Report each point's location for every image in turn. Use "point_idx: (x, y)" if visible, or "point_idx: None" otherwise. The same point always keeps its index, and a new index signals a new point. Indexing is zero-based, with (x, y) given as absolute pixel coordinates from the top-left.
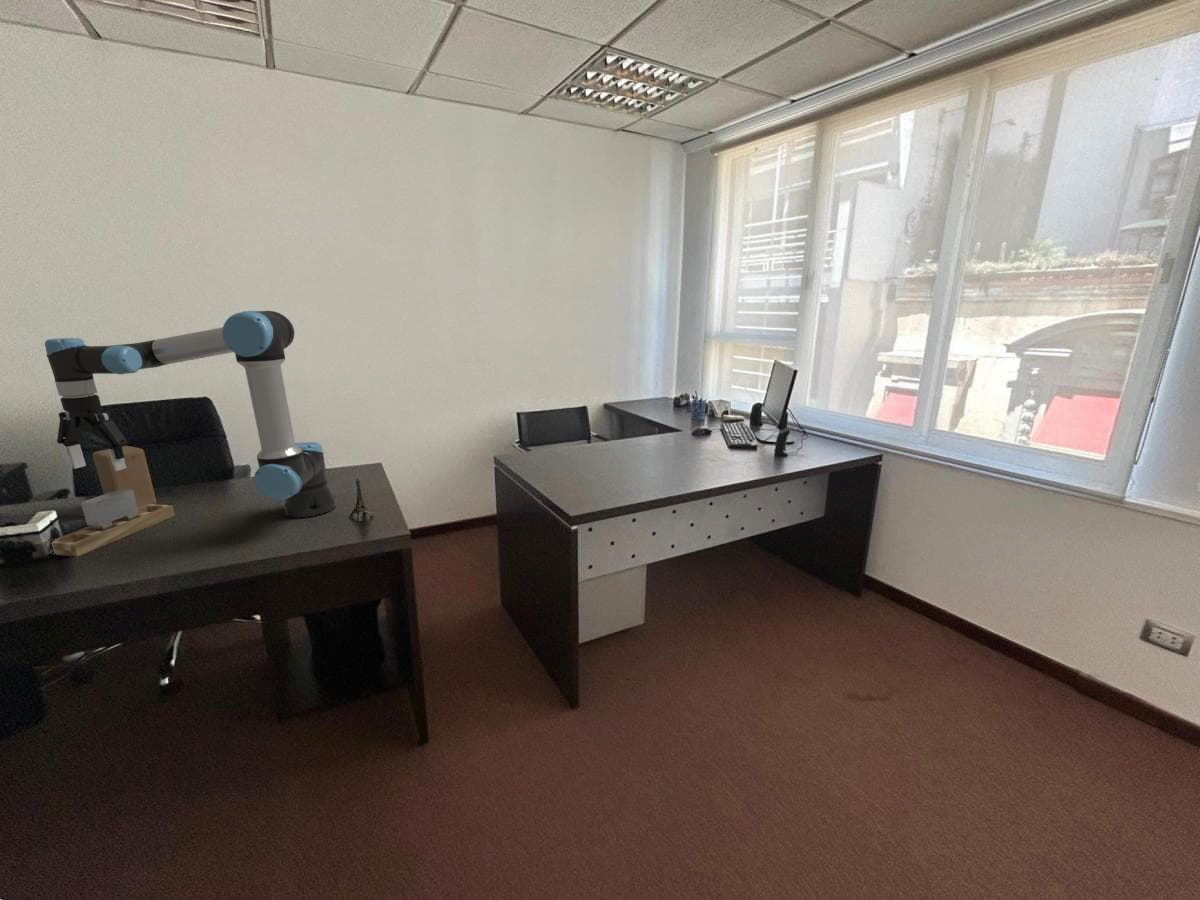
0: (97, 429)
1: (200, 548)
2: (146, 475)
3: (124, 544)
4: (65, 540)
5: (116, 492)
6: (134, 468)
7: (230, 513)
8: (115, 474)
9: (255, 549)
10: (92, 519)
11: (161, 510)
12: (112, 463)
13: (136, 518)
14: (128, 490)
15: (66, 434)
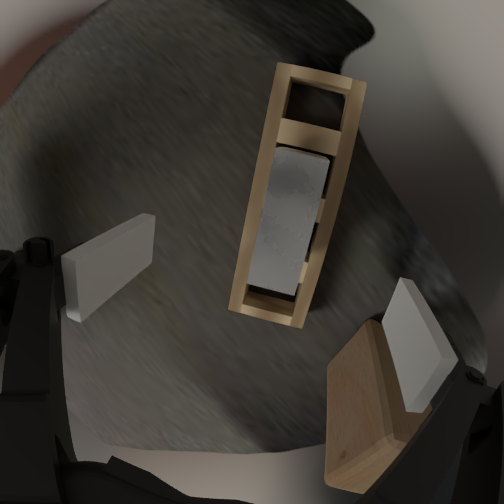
0: (4, 387)
1: (71, 124)
2: (329, 415)
3: (224, 130)
4: (345, 109)
5: (281, 259)
6: (345, 425)
7: (127, 291)
8: (378, 393)
9: (13, 134)
10: (301, 151)
11: (233, 281)
12: (131, 226)
13: (254, 227)
14: (254, 276)
15: (480, 455)
